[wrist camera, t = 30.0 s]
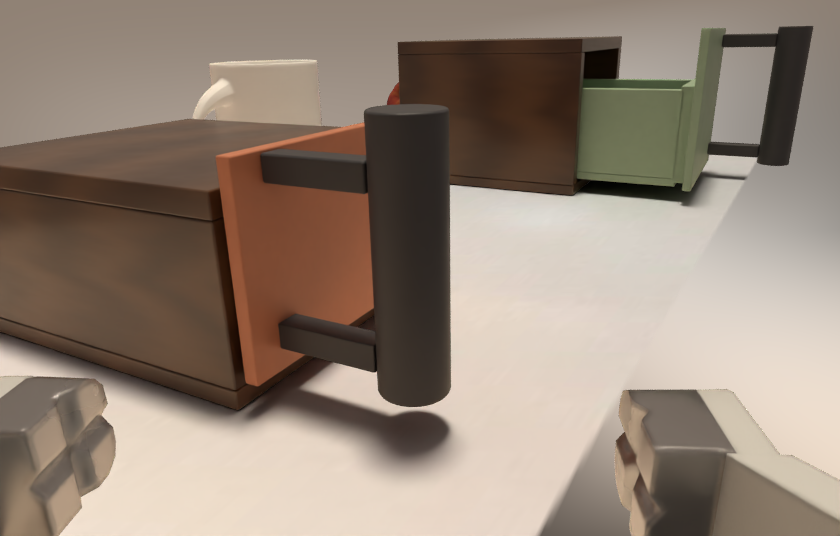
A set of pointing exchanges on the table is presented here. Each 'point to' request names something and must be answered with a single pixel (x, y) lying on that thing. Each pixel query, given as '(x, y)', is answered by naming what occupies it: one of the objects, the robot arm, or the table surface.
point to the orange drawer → (346, 250)
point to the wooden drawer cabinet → (509, 104)
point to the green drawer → (686, 115)
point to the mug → (263, 92)
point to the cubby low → (131, 252)
